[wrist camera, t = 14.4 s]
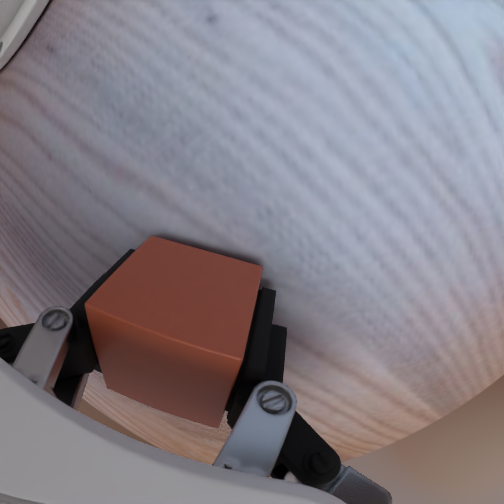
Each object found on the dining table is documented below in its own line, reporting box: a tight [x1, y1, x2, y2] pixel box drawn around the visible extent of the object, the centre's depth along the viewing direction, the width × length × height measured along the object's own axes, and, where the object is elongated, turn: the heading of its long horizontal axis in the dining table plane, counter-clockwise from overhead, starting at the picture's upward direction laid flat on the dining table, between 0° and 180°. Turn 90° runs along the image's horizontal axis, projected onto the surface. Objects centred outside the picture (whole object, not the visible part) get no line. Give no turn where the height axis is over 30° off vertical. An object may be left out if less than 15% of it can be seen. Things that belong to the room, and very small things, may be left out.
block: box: [85, 236, 263, 428], centre depth 9 cm, size 4×4×4 cm
